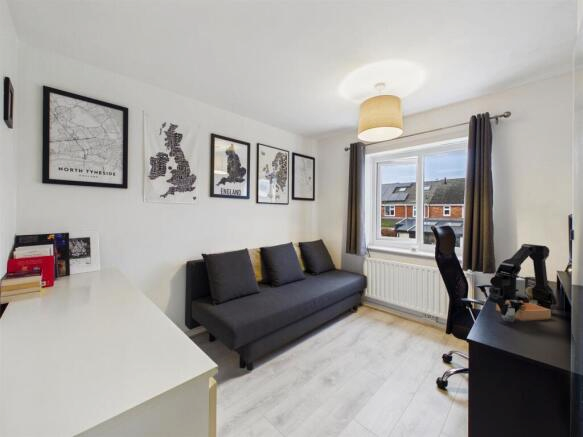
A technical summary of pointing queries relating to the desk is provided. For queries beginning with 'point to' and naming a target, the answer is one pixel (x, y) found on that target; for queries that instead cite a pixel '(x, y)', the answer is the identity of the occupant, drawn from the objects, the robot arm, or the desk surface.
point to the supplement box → (520, 286)
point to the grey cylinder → (509, 314)
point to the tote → (531, 312)
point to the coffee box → (530, 289)
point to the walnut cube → (519, 308)
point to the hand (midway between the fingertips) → (508, 315)
